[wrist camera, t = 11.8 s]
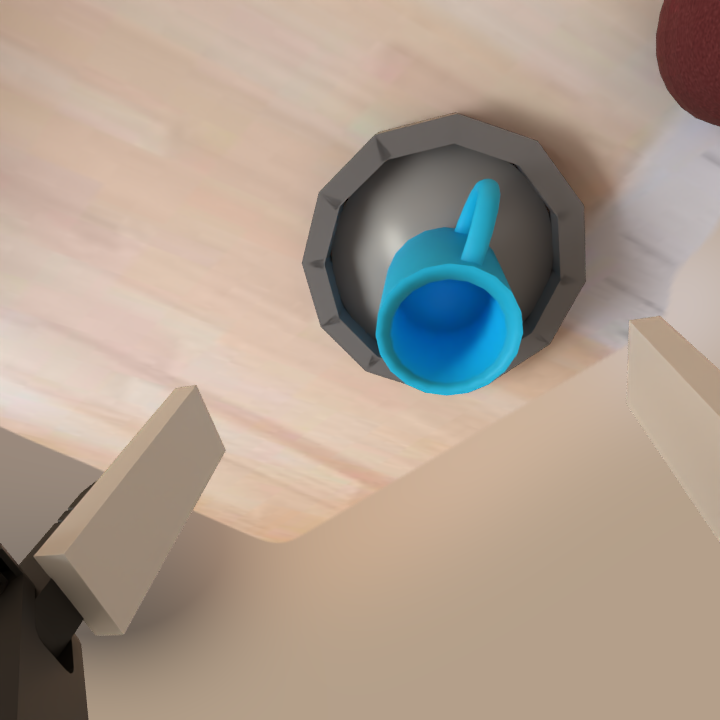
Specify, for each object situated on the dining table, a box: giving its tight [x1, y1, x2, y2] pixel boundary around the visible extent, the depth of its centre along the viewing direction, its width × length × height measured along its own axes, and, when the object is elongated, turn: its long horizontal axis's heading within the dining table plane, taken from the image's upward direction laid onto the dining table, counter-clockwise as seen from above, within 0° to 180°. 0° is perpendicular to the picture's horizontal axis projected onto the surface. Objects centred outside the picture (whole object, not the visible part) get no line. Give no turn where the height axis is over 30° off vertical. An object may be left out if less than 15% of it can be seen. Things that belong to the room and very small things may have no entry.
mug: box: [376, 179, 523, 395], centre depth 29 cm, size 12×8×8 cm
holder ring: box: [302, 113, 586, 384], centre depth 32 cm, size 18×18×2 cm
